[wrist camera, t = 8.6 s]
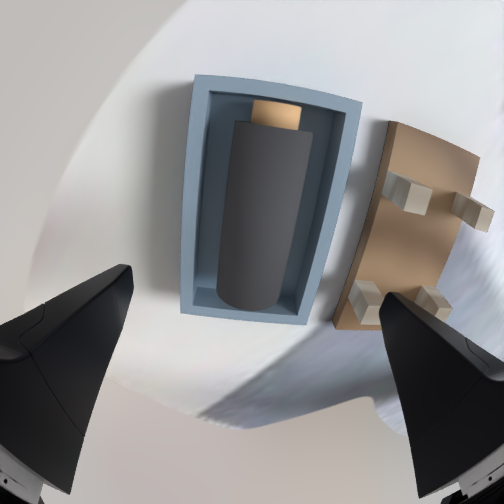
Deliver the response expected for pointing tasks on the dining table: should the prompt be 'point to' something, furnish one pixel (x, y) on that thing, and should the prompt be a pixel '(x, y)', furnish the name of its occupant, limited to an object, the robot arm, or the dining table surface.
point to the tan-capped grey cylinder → (261, 204)
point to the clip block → (410, 226)
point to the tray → (215, 181)
